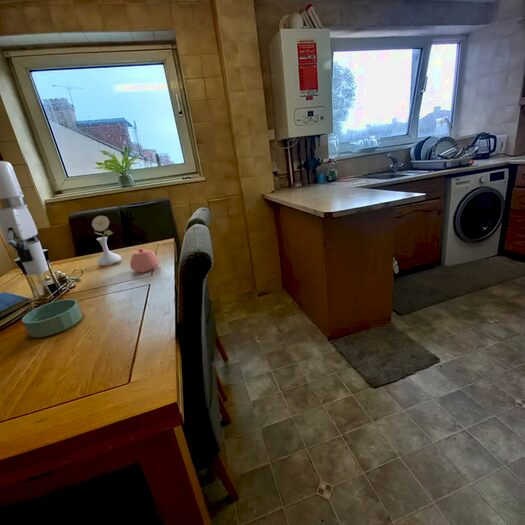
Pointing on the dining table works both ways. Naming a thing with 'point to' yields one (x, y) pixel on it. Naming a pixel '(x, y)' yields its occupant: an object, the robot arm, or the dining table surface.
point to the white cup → (35, 259)
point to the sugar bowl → (143, 260)
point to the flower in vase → (104, 242)
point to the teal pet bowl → (52, 318)
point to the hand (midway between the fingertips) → (32, 258)
